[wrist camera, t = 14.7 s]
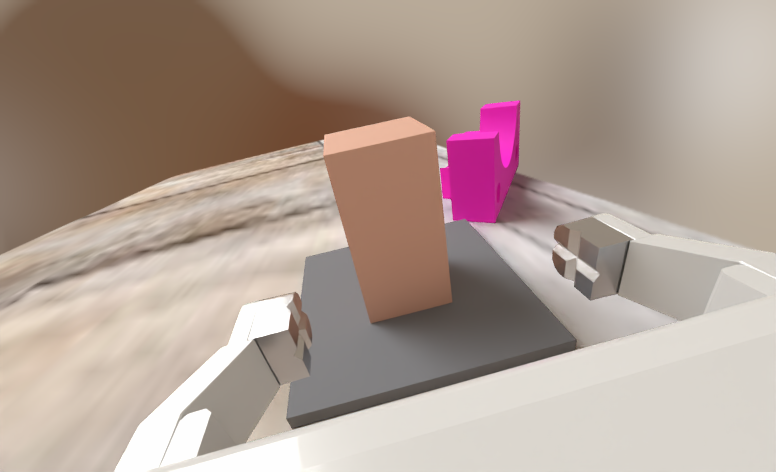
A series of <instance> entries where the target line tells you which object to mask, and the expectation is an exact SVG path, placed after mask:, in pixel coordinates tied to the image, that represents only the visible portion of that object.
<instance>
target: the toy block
mask: <svg viewBox="0 0 776 472" xmlns="http://www.w3.org/2000/svg"><path fill="white" fill-rule="evenodd" d="M480 115H481V116H480V131H472V132H465V133H464V134H453V135H452V136H451V137H450V138H449V139H448V140H447V141H446V142H447V154H448V166H447V167H446V168H440V173H441V183H442V193H443V198H446V199H451V201H452V213H453V220H456V221H458V220H462V219H466V220H467V221H471V222H487V223H495V222H496V219H497V217H498V214H499V212H500V209H501V207H502V204H503V202H504V199H505V197H506V194H507V192H508V189H509V187H510V184H511V182H512V179H513V177H514V174H515V172H516V171H517V168H518V164H519V128H520V101H511V102H502V103H493V104H486V105H484V106H483V107H482V108H481V114H480Z"/></svg>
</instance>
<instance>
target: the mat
mask: <svg viewBox="0 0 776 472" xmlns="http://www.w3.org/2000/svg"><path fill="white" fill-rule="evenodd" d="M445 234H446V244H447V254H448V264H449V273H450V283H451V293H452V303H448V304H444V305H440V306H436V307H433V308H429V309H425V310H421V311H417V312H413V313H409V314H405V315H402V316H398V317H394V318H390V319H386V320H382V321H378V322H374V323H370V320H369V316H368V313H367V309H366V306H365V302H364V298H363V295H362V291H361V288H360V284H359V281H358V277H357V274H356V270H355V267H354V263H353V259H352V256H351V252H350V249H349V247H346V248H342V249H338V250H334V251H330V252H325V253H321V254H317V255H313V256H309V257H306V261H305V269H304V277H303V285H302V294H301V302H302V307H301V311H303V312H304V313H306V314H307V316H308V318H309V321H310V325H311V330H312V345H311V347H310V348H309V349H308V350H309V353H310V355H311V371H310V377H306V378H303V379H300V380H296V381H293V382H291V384H290V392H289V401H288V409H287V417H286V419H287V421H288V422H289V424H290V426H291V428H292V429H293V428H296V427H300V426H303V425H307V424H311V423H314V422H318V421H322V420H325V419H329V418H333V417H336V416H340V415H344V414H347V413H351V412H355V411H358V410H362V409H366V408H369V407H373V406H376V405H380V404H384V403H387V402H391V401H395V400H398V399H402V398H406V397H409V396H413V395H417V394H420V393H424V392H428V391H431V390H435V389H439V388H442V387H446V386H450V385H453V384H457V383H460V382H464V381H468V380H471V379H475V378H478V377H482V376H485V375H489V374H493V373H496V372H500V371H503V370H507V369H510V368H514V367H517V366H521V365H525V364H528V363H532V362H535V361H539V360H542V359H546V358H549V357H553V356H557V355H560V354H564V353H567V352H571V351H574V350H575V346H576V339H575V338H574V337H573V336H572V334H571V333H570V332H569V331H568V330H567V329H566V328H565V327H564V326H563V325H562V324H561V323H560V321H559V320H558V319H557V318H556V317H555V316H554V315H553V314H552V313H551V312H550V311H549V309H548V308H547V307H546V306H545V305H544V304H543V303H542V302H541V301H540V300H539V299H538V298H537V296H536V295H535V294H534V293H533V292H532V291H531V290H530V289H529V288H528V287H527V286H526V284H525V283H524V282H523V281H522V280H521V279H520V278H519V277H518V276H517V275H516V274H515V273H514V271H513V270H512V269H511V268H510V267H509V266H508V265H507V264H506V263H505V262H504V261H503V259H502V258H501V257H500V256H499V255H498V254H497V253H496V252H495V251H494V250H493V249H492V248H491V246H490V245H489V244H488V243H487V242H486V241H485V240H484V239H483V238H482V237H481V236H480V234H479V233H478V232H477V231H476V230H475V229H474V228H473V227H472V226H471V225H470V224H469V223H468V221H467V220H466V219H462V220H458V221H454V222H450V223H446V224H445Z"/></svg>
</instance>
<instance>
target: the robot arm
mask: <svg viewBox="0 0 776 472" xmlns="http://www.w3.org/2000/svg"><path fill="white" fill-rule="evenodd" d="M554 239H555V240H556V241H557V243H558V244H557V245H556V246H555V248H554V249H553V256H552V260H553V263H554V266H555V268H556V270H557V271H558V273H559V274H560V275H562V276H563V277H564V278H566V279H569V280H572V281H574V287H575V288H576V289H578V290H579V291H580V292H581V293H582V294H583V295H584V296H586V297H587V298H588V299H589V300H594V299H598V298H602V297H607V296H611V295H615V294H618V295H619V296H621V297H624V298H626V299H629V300H631V301H634V302H636V303H638V304H641V305H643V306H646V307H648V308H651V309H653V310H656V311H658V312H661V313H663V314H665V315H668V316H670V317H673V318H675V319H678V320H680V321H678V322H674V323H671V324H667V325H664V326H660V327H657V328H653V329H650V330H646V331H642V332H639V333H635V334H632V335H628V336H625V337H621V338H617V339H614V340H610V341H607V342H603V343H599V344H596V345H592V346H589V347H585V348H582V349H578V350H574V351H571V352H567V353H564V354H560V355H557V356H553V357H549V358H546V359H542V360H539V361H535V362H532V363H528V364H525V365H521V366H517V367H514V368H510V369H507V370H503V371H500V372H496V373H493V374H489V375H485V376H482V377H478V378H475V379H471V380H468V381H464V382H460V383H457V384H453V385H450V386H446V387H443V388H439V389H436V390H432V391H428V392H425V393H421V394H418V395H414V396H411V397H407V398H404V399H400V400H396V401H393V402H389V403H386V404H382V405H379V406H375V407H372V408H368V409H364V410H361V411H357V412H354V413H350V414H347V415H343V416H339V417H336V418H332V419H329V420H325V421H322V422H318V423H315V424H311V425H307V426H304V427H300V428H297V429H293V430H290V431H286V432H282V433H279V434H275V435H272V436H268V437H265V438H261V439H258V440H254V441H250V442H247V443H246V441H247V440H248V438H249V436H250V435H251V433H252V432H253V430H254V428H255V427H256V425H257V424H258V422H259V420H260V419H261V417H262V416H263V414H264V412H265V411H266V409H267V408H268V406H269V404H270V403H271V401H272V400H273V398H274V396H275V395H276V393H277V392H278V390H279V388H280V385H283V384H286V383H290V382H293V381H296V380H300V379H303V378H306V377H310V371H311V355H310V353H309V350H308V349H309V348H310V347H311V345H312V330H311V325H310V321H309V318H308V316H307V314H306V313H304V312H303V311H301V307H302V302H301V299H300V297H299V295H298V294H297V293H296V292H293V293H289V294H285V295H280V296H276V297H272V298H267V299H263V300H259V301H255V302H251V303H247V304H245V305H243V306H242V308H241V310H240V313H239V316H238V319H237V321H236V324H235V327H234V329H233V332H232V335H231V337H230V340H229V343H228V345H227V346H225V347H222V348H221V349H219V350H218V351H217V352H216V353H215V354H214V355H213V356H212V357H211V358H210V359H209V360H208V361H207V362H206V363H205V364H204V365H202V366H201V367H200V368H199V369H198V370H197V371H196V372H195V373H194V374H193V375H192V376H191V377H190V378H189V379H188V380H187V381H186V382H184V383H183V384H182V385H181V386H180V387H179V388H178V389H177V390H176V391H175V392H174V393H173V394H172V395H171V396H170V397H169V398H167V399H166V400H165V401H164V402H163V403H162V404H161V405H160V406H159V407H158V408H157V409H156V410H155V411H154V412H153V413H152V414H150V415H149V416H148V417H147V418H146V419H145V420H144V421H143V422H142V423H141V424H140V425H139V426H138V428H137V430H136V432H135V434H134V435H133V437H132V439H131V441H130V443H129V445H128V447H127V448H126V450H125V452H124V454H123V456H122V458H121V460H120V462H119V463H118V465H117V467H116V469H115V471H114V472H776V253H771V252H765V251H759V250H753V249H747V248H741V247H735V246H729V245H722V244H716V243H710V242H704V241H698V240H692V239H686V238H680V237H674V236H668V235H662V234H654V235H651V234H649V233H647V232H645V231H643V230H641V229H639V228H637V227H635V226H633V225H631V224H629V223H627V222H625V221H623V220H621V219H619V218H617V217H615V216H613V215H611V214H608V213H602V214H598V215H595V216H591V217H588V218H586V219H582V220H578V221H574V222H571V223H567V224H563V225H559V226H557V227H556V229H555V232H554Z"/></svg>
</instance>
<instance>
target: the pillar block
mask: <svg viewBox="0 0 776 472" xmlns="http://www.w3.org/2000/svg"><path fill="white" fill-rule="evenodd" d="M323 156H324V160H325V163H326V167H327V171H328V174H329V178H330V181H331V185H332V188H333V192H334V195H335V199H336V203H337V206H338V210H339V213H340V217H341V220H342V224H343V227H344V231H345V235H346V238H347V242H348V245H349V249H350V252H351V256H352V259H353V263H354V267H355V270H356V274H357V277H358V281H359V284H360V288H361V291H362V295H363V298H364V302H365V306H366V309H367V313H368V316H369V320H370V323H374V322H378V321H382V320H386V319H390V318H394V317H398V316H402V315H405V314H409V313H413V312H417V311H421V310H425V309H429V308H433V307H436V306H440V305H444V304H448V303H452V293H451V283H450V273H449V264H448V254H447V244H446V234H445V224H444V214H443V204H442V194H441V184H440V174H439V164H438V154H437V144H436V134H435V131H434V130H433V129H431V128H429V127H427V126H425V125H423V124H422V123H420V122H418V121H416V120H415V119H413V118H411V117H405V118H400V119H396V120H391V121H387V122H382V123H378V124H373V125H368V126H364V127H359V128H354V129H350V130H345V131H341V132H336V133H331V134H327V135H325V136H324V153H323Z"/></svg>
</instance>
